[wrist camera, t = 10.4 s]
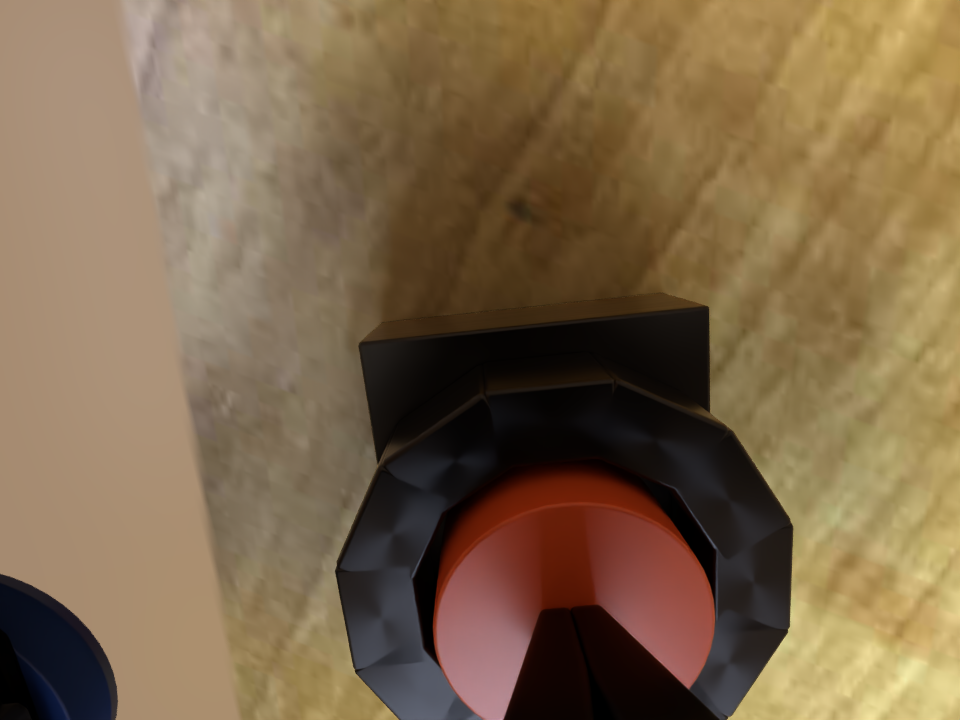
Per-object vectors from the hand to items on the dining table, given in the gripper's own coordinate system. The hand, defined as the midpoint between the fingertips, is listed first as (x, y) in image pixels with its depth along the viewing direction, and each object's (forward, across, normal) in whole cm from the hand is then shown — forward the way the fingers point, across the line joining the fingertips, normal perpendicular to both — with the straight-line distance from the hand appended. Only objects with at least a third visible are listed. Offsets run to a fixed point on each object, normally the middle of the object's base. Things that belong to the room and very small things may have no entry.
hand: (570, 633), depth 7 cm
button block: (+5, 0, 0) cm, 5 cm away
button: (+2, 0, 0) cm, 2 cm away
